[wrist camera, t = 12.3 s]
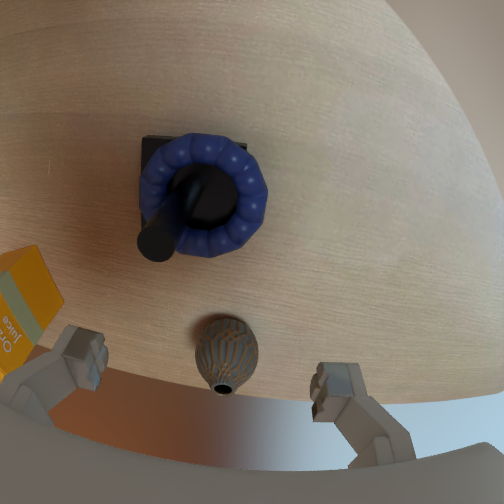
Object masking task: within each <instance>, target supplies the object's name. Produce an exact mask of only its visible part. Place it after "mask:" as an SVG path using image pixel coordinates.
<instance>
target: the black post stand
mask: <svg viewBox="0 0 504 504" xmlns="http://www.w3.org/2000/svg"><path fill="white" fill-rule="evenodd" d="M177 138H179V137H173V136H156V135H147V136H145V137H143V138H142V158H141V173H142V172H143V170H144V168H145V167H146V165H147V164H148V162H149V161H150V159H151V157H152V156H153V154H154V153H155V151H156V150H157V149H158V148H159V147H160V146H162V145H164V144H166V143H168V142H171V141H173V140H175V139H177ZM235 143H236V144H237V145H239V146H240V147H241V148H243V149H244V150H245V151H247V143H239V142H235ZM237 198H238V193H237V191H236V189H235V186H234V184H233V182H232V179H231V177H230V176H228V175H227V174H226V173H224V172H223V171H222V170H220V169H219V168H217V167H216V166H215V165H209V164H201V163H192V164H190V165H188V166H185V167H183V168H181V169H179V170H177V171H176V173H175V174H174V175H173V177H172V178H171V180H170V181H169V183H168V184H167V198H166V199H165V200H164V201H163V203H162V204H161V205H160V207H159V208H158V209H157V210H156V212H155V213H154V214H153V216H152V217H151V218H150V220H149V221H148V222H146V220H145V218H144V216H143V215H142V213H141V227H142V230H141V232H140V233H139V235H138V237H137V246H138V249H139V251H140V252H141V254H142V255H143V256H144V257H145V258H147V259H148V260H151V261H153V262H163V261H166V260H168V259H170V258H171V257H172V255H173V254H174V252H175V249H176V247H177V245H178V243H179V241H180V239H181V237H182V235H183V233H184V231H185V229H186V227H187V226H188V227H189V228H194V229H202V230H211V229H214V228H216V227H219V226H222V225H224V224H226V222H227V221H228V220H229V219H230V218H231V216H232V215H233V214H234V213H235V212H236V205H237Z"/></svg>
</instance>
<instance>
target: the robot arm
mask: <svg viewBox="0 0 504 504" xmlns="http://www.w3.org/2000/svg"><path fill="white" fill-rule="evenodd" d="M104 341H105V338H104V335H103V333H100V332H96V331H92V330H88V329H85V328H81V327H77V326H73V325H68V326H66V327H65V329H64V330H63V332H62V334H61V335H60V337H59V338H58V340H57V342H56V343H55V345H54V347H53V348H52V350H51V352H50V353H49V352H46V353H44V354H42V355H40V356H39V357H37V358H35V359H33V360H32V361H30V362H28V363H26V364H24V365H23V366H21V367H19V368H17V369H16V370H14V371H12V372H10V373H8V374H7V375H5V376H4V378H3V380H2V381H1V383H0V504H504V455H503V454H502V453H501V452H500V451H499V450H497V449H496V448H495V447H494V446H492V445H491V444H489V443H487V442H482V443H477V444H475V445H471V446H468V447H464V448H461V449H457V450H453V451H450V452H446V453H442V454H438V455H434V456H429V457H424V458H420V459H416V455H415V451H414V448H413V444H412V440H411V437H410V433H409V432H408V431H407V430H406V429H405V428H404V427H403V426H402V425H401V424H400V423H399V422H397V421H396V419H394V418H393V417H392V416H391V415H390V414H389V413H388V412H387V411H386V410H385V409H384V408H383V407H382V406H381V405H380V404H379V403H378V402H377V401H376V400H375V399H374V398H372V397H371V396H368V395H367V391H366V387H365V384H364V380H363V377H362V373H361V369H360V366H359V364H358V363H342V362H320V363H319V364H318V366H317V368H316V369H317V373H316V374H315V375H313V377H312V380H311V384H310V398H311V399H312V400H313V401H314V404H313V406H312V415H313V422H334V424H335V425H336V427H337V428H338V429H339V431H340V432H341V433H342V434H343V436H344V437H345V439H346V440H347V441H348V442H349V444H350V445H351V446H352V448H353V449H354V450H355V452H356V453H357V454H358V456H357V457H356V458H355V459H354V460H353V461H352V462H351V463H350V464H349V465H348V469H340V470H325V471H324V470H323V471H261V470H243V469H232V468H221V467H212V466H204V465H197V464H191V463H184V462H178V461H173V460H167V459H162V458H157V457H153V456H148V455H143V454H139V453H135V452H131V451H127V450H123V449H119V448H116V447H112V446H109V445H105V444H102V443H99V442H95V441H92V440H89V439H86V438H83V437H80V436H77V435H74V434H71V433H69V432H66V431H63V430H61V429H58V428H55V427H53V426H54V422H53V420H52V419H51V417H50V416H49V414H48V413H47V412H48V411H49V410H50V409H51V408H53V407H54V406H55V405H57V404H58V403H59V402H60V401H61V400H63V399H64V398H65V397H66V396H68V395H69V394H70V393H71V392H73V391H74V390H75V389H76V388H77V387H80V388H84V389H88V390H92V391H96V390H97V388H98V385H99V383H100V381H101V377H100V373H101V372H103V371H104V370H105V369H106V366H107V363H108V349H107V347H106V346H105V345H104V344H103V343H104Z"/></svg>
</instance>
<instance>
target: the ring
mask: <svg viewBox="0 0 504 504" xmlns="http://www.w3.org/2000/svg"><path fill="white" fill-rule="evenodd" d="M192 163H201V164H209V165H215V166H216V167H217V168H219V169H220V170H222V171H223V172H224V173H226V174H227V175H228V176H230V177H231V179H232V182H233V184H234V186H235V189H236V191H237V193H238V198H237V205H236V212H235V213H234V214H233V215H232V216H231V218H230V219H229V220H228V221H227V222H226V224H224V225H222V226H219V227H216V228H214V229H211V230H202V229H194V228H189V227H188V226H187V227H186V229H185V231H184V233H183V235H182V237H181V239H180V241H179V243H178V245H177V247H176V249H175V251H177V252H178V253H180V254H185V255H192V256H199V257H206V258H213V257H216V256H219V255H222V254H225V253H228V252H231V251H234V250H237V249H239V248H241V247H242V246H243V245H244V244H245V243H246V242H247V241H248V240H249V239H250V237H251V236H252V235H253V234H254V233H255V232H256V231H257V230H258V228H259V227H260V226H261V225H262V223H263V219H264V213H265V208H266V202H267V196H268V189H267V186H266V183H265V181H264V178H263V176H262V173H261V171H260V168H259V166H258V163H257V161H256V159H255V158H254V157H253V156H252V155H251V154H249V153H248V152H247V151H245V150H244V149H243V148H241V147H240V146H239V145H237V144H236V143H235V142H233V141H232V140H231V139H229V138H227V137H225V136H219V135H210V134H201V133H188V134H186V135H183V136H181V137H179V138H177V139H175V140H173V141H171V142H168V143H166V144H164V145H162V146H160V147H159V148H158V149H157V150H156V151H155V153H154V154H153V156H152V157H151V159H150V161H149V162H148V164H147V165H146V167H145V168H144V170H143V172H142V173H141V176H140V186H139V208H140V211H141V213H142V215H143V216H144V218H145V220H146V222H148V221H149V220H150V218H151V217H152V216H153V214H154V213H155V212H156V210H157V209H158V208H159V207H160V205H161V204H162V203H163V201H164V200H165V199H166V198H167V184H168V183H169V181H170V180H171V178H172V177H173V175H174V174H175V173H176V171H177V170H179V169H181V168H183V167H185V166H188V165H190V164H192Z"/></svg>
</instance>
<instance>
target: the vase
mask: <svg viewBox="0 0 504 504" xmlns="http://www.w3.org/2000/svg"><path fill="white" fill-rule="evenodd" d="M195 358H196V364H197V368H198V370H199V372H200V374H201V375H202V377H203V378H204V379H205V380H206V382H207V383H208V384H209V386H210V388H211V391H212V392H213V393H214V394H216V395H218V396H225V397H227V396H231V395H232V394H234V393H235V391H236V390H237V388H238V387H240V386H241V385H242V384H244V383H245V382H246V381H247V380H248V379H249V378H250V377H251V376H252V374H253V372H254V370H255V368H256V365H257V362H258V344H257V341H256V338H255V336H254V334H253V332H252V331H251V329H250V328H249V327H248V326H246V325H245V324H244V323H242V322H240V321H238V320H234V319H220V320H217V321H214V322H212V323H211V324H209V325H208V326H207V327H206V328H205V329H204V330H203V332H202V333H201V335H200V336H199V339H198V342H197V345H196V350H195Z"/></svg>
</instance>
